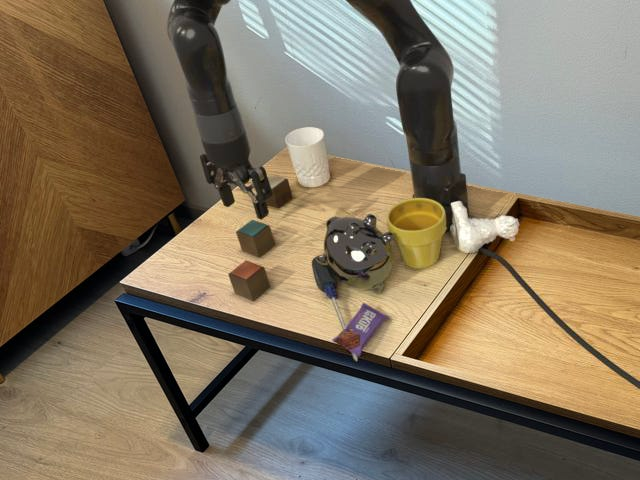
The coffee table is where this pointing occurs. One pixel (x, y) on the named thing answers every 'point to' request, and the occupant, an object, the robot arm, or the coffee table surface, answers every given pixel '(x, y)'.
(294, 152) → the white cup
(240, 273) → the red-topped brown block
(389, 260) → the piggy bank
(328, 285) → the screwdriver
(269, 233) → the teal topped brown block
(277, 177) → the brown block
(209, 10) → the robot arm
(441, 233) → the flower pot
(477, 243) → the sitting furry creature
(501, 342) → the coffee table surface
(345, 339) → the snack package
